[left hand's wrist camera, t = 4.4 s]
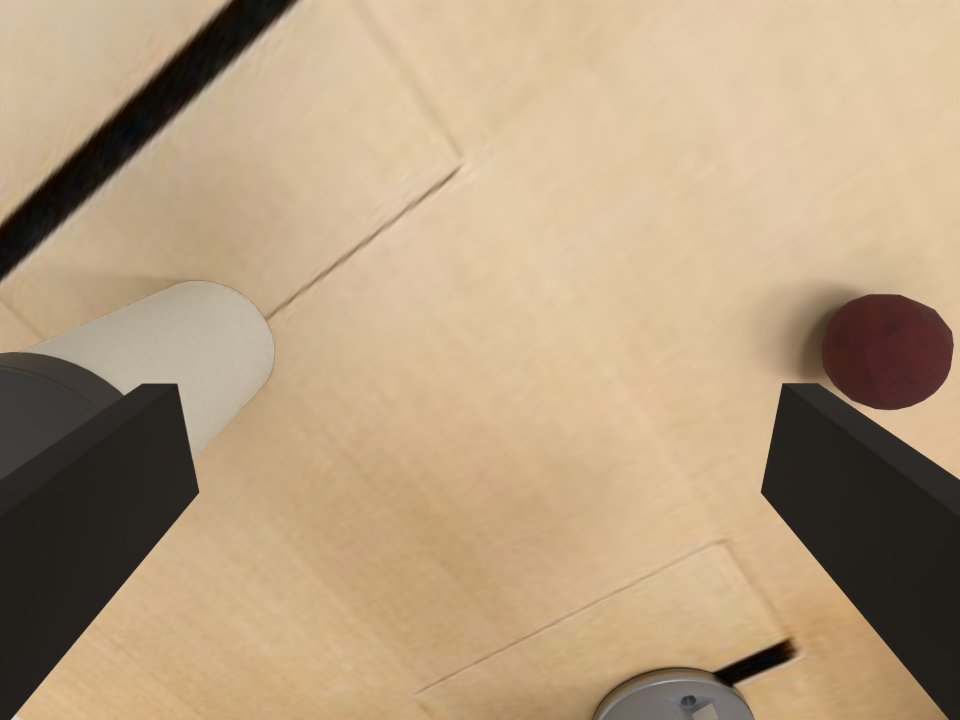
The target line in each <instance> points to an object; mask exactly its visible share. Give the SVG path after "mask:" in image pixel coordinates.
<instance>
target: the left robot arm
mask: <svg viewBox="0 0 960 720" xmlns="http://www.w3.org/2000/svg"><path fill="white" fill-rule="evenodd" d="M198 493H199V489H198V484H197V479H196V474H195V469H194V464H193V459H192V454H191V449H190V444H189V439H188V434H187V429H186V424H185V419H184V414H183V409H182V404H181V399H180V394H179V389H178V384H177V383H142V384H141V385H139V386H138V387H136V388H135V389H133V390H132V391H130V392H129V393H127V394H126V395H124V396H123V397H121V398H120V399H118V400H117V401H116V402H114V403H113V404H111V405H110V406H108V407H107V408H105V409H104V410H102V411H101V412H99V413H98V414H96V415H95V416H93V417H92V418H91V419H89V420H88V421H86V422H85V423H83V424H82V425H80V426H79V427H77V428H76V429H74V430H73V431H71V432H70V433H68V434H67V435H65V436H64V437H63V438H61V439H60V440H58V441H57V442H55V443H54V444H52V445H51V446H49V447H48V448H46V449H45V450H43V451H42V452H40V453H39V454H38V455H36V456H35V457H33V458H32V459H30V460H29V461H27V462H26V463H24V464H23V465H21V466H20V467H18V468H17V469H15V470H14V471H13V472H11V473H10V474H8V475H7V476H5V477H4V478H2V479H1V480H0V720H11V719H12V718H13V716H14V715H15V714H16V713H17V712H18V710H19V709H20V708H21V707H22V706H23V704H24V703H25V702H26V701H27V700H28V698H29V697H30V696H31V695H32V694H33V692H34V691H35V690H36V689H37V688H38V686H39V685H40V684H41V683H42V682H43V680H44V679H45V678H46V677H47V676H48V674H49V673H50V672H51V671H52V669H53V668H54V667H55V666H56V665H57V663H58V662H59V661H60V660H61V659H62V657H63V656H64V655H65V654H66V653H67V651H68V650H69V649H70V648H71V647H72V645H73V644H74V643H75V642H76V641H77V639H78V638H79V637H80V636H81V635H82V633H83V632H84V631H85V630H86V628H87V627H88V626H89V625H90V624H91V622H92V621H93V620H94V619H95V618H96V616H97V615H98V614H99V613H100V612H101V610H102V609H103V608H104V607H105V606H106V604H107V603H108V602H109V601H110V600H111V598H112V597H113V596H114V595H115V593H116V592H117V591H118V590H119V589H120V587H121V586H122V585H123V584H124V583H125V581H126V580H127V579H128V578H129V577H130V575H131V574H132V573H133V572H134V571H135V569H136V568H137V567H138V566H139V565H140V563H141V562H142V561H143V560H144V559H145V557H146V556H147V555H148V554H149V552H150V551H151V550H152V549H153V548H154V546H155V545H156V544H157V543H158V542H159V540H160V539H161V538H162V537H163V536H164V534H165V533H166V532H167V531H168V530H169V528H170V527H171V526H172V525H173V524H174V522H175V521H176V520H177V519H178V517H179V516H180V515H181V514H182V513H183V511H184V510H185V509H186V508H187V507H188V505H189V504H190V503H191V502H192V501H193V499H194V498H195V497H196V496H197V495H198ZM761 493H762V495H763V496H764V497H765V498H766V499H767V501H768V502H769V503H770V504H771V505H772V507H773V508H774V509H775V510H776V511H777V513H778V514H779V515H780V516H781V517H782V519H783V520H784V521H785V522H786V524H787V525H788V526H789V527H790V528H791V530H792V531H793V532H794V533H795V534H796V536H797V537H798V538H799V539H800V540H801V542H802V543H803V544H804V545H805V546H806V548H807V549H808V550H809V551H810V552H811V554H812V555H813V556H814V557H815V559H816V560H817V561H818V562H819V563H820V565H821V566H822V567H823V568H824V569H825V571H826V572H827V573H828V574H829V575H830V577H831V578H832V579H833V580H834V581H835V583H836V584H837V585H838V586H839V587H840V589H841V590H842V591H843V592H844V593H845V595H846V596H847V597H848V598H849V600H850V601H851V602H852V603H853V604H854V606H855V607H856V608H857V609H858V610H859V612H860V613H861V614H862V615H863V616H864V618H865V619H866V620H867V621H868V622H869V624H870V625H871V626H872V627H873V628H874V630H875V631H876V632H877V633H878V635H879V636H880V637H881V638H882V639H883V641H884V642H885V643H886V644H887V645H888V647H889V648H890V649H891V650H892V651H893V653H894V654H895V655H896V656H897V657H898V659H899V660H900V661H901V662H902V663H903V665H904V666H905V667H906V668H907V669H908V671H909V672H910V673H911V674H912V676H913V677H914V678H915V679H916V680H917V682H918V683H919V684H920V685H921V686H922V688H923V689H924V690H925V691H926V692H927V694H928V695H929V696H930V697H931V698H932V700H933V701H934V702H935V703H936V704H937V706H938V707H939V708H940V709H941V711H942V712H943V713H944V714H945V715H946V717H947V718H948V719H949V720H960V480H959V479H958V478H956V477H955V476H953V475H952V474H950V473H949V472H947V471H946V470H945V469H943V468H942V467H940V466H939V465H937V464H936V463H934V462H933V461H931V460H930V459H928V458H927V457H925V456H924V455H922V454H921V453H920V452H918V451H917V450H915V449H914V448H912V447H911V446H909V445H908V444H906V443H905V442H903V441H902V440H900V439H899V438H897V437H896V436H895V435H893V434H892V433H890V432H889V431H887V430H886V429H884V428H883V427H881V426H880V425H878V424H877V423H875V422H874V421H872V420H871V419H869V418H868V417H867V416H865V415H864V414H862V413H861V412H859V411H858V410H856V409H855V408H853V407H852V406H850V405H849V404H847V403H846V402H844V401H843V400H842V399H840V398H839V397H837V396H836V395H834V394H833V393H831V392H830V391H828V390H827V389H825V388H824V387H822V386H821V385H819V384H818V383H783V384H782V389H781V394H780V399H779V404H778V409H777V414H776V419H775V424H774V429H773V434H772V439H771V444H770V449H769V454H768V459H767V464H766V469H765V474H764V479H763V484H762V489H761Z"/></svg>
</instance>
